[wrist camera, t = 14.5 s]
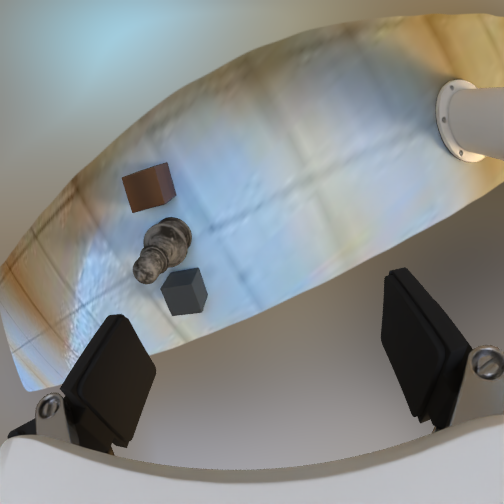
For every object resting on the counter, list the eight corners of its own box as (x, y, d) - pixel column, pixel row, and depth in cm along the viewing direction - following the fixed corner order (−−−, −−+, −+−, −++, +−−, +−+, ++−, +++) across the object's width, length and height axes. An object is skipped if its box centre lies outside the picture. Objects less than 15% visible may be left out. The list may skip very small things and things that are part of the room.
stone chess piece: (161, 259, 38) (127, 308, 27) (147, 221, 35) (104, 259, 24) (199, 250, 37) (175, 300, 26) (185, 210, 35) (152, 246, 24)
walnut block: (167, 162, 32) (154, 166, 28) (176, 195, 34) (165, 204, 30) (137, 171, 33) (121, 177, 29) (146, 203, 34) (132, 213, 30)
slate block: (198, 267, 38) (191, 283, 34) (207, 294, 40) (202, 312, 36) (170, 272, 39) (160, 288, 34) (180, 298, 40) (172, 316, 36)
